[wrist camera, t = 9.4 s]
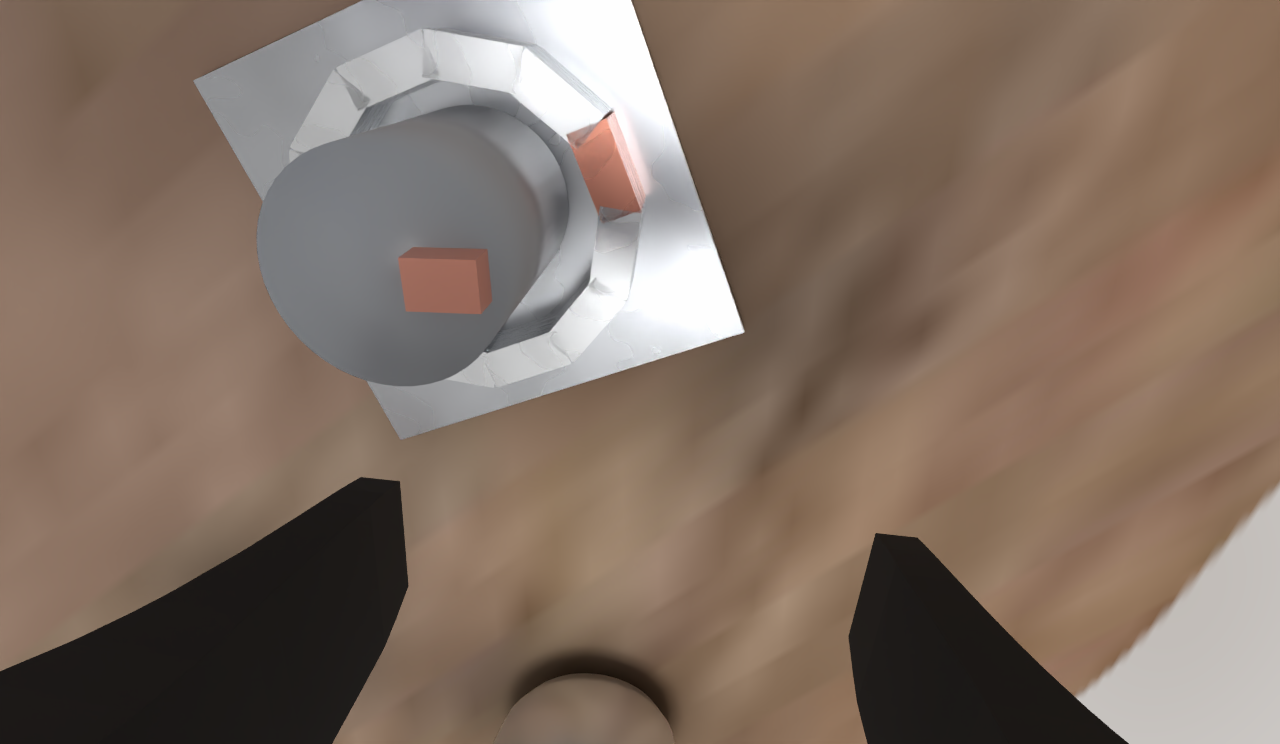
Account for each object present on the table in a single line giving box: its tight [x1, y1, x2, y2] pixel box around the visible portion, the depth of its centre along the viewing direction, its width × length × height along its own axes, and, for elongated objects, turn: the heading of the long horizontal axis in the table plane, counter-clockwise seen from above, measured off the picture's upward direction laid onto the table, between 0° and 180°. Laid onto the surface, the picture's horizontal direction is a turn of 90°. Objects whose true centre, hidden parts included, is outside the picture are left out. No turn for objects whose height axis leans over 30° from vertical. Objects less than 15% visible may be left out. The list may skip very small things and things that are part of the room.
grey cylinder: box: [257, 105, 569, 386], centre depth 16 cm, size 5×5×7 cm
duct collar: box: [193, 0, 744, 440], centre depth 19 cm, size 11×11×2 cm
